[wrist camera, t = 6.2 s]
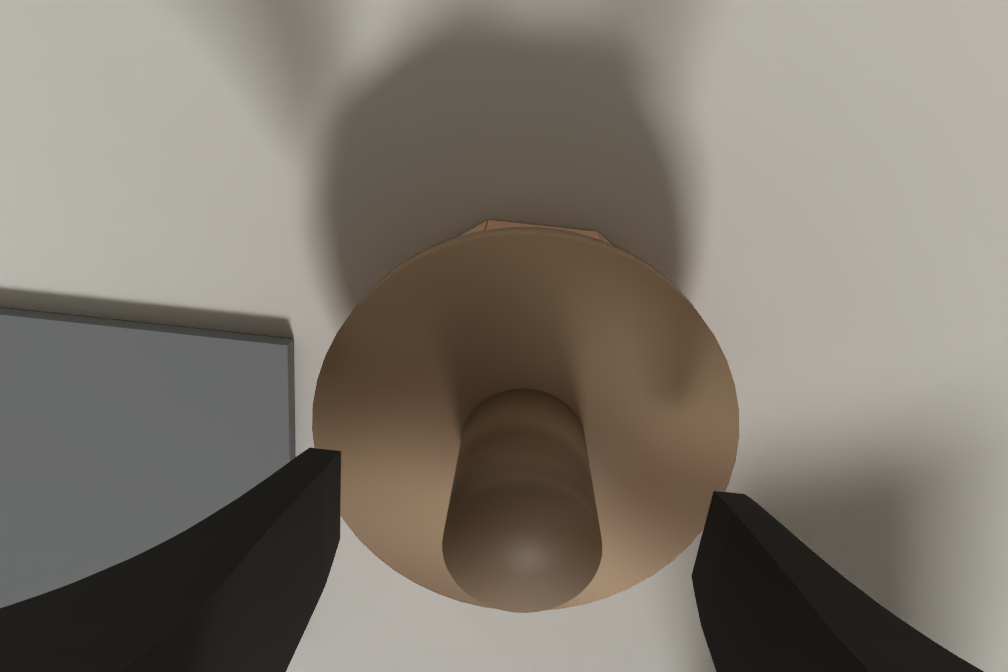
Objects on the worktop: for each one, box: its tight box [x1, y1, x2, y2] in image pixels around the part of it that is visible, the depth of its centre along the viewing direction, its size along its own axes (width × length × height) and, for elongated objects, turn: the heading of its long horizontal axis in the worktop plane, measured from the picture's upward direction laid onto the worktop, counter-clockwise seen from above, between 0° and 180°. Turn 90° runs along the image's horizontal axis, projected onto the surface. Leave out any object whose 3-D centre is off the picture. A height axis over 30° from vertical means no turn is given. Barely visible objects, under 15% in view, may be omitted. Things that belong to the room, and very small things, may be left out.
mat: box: [0, 307, 295, 608], centre depth 20 cm, size 11×11×1 cm
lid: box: [312, 227, 739, 613], centre depth 13 cm, size 10×10×4 cm
